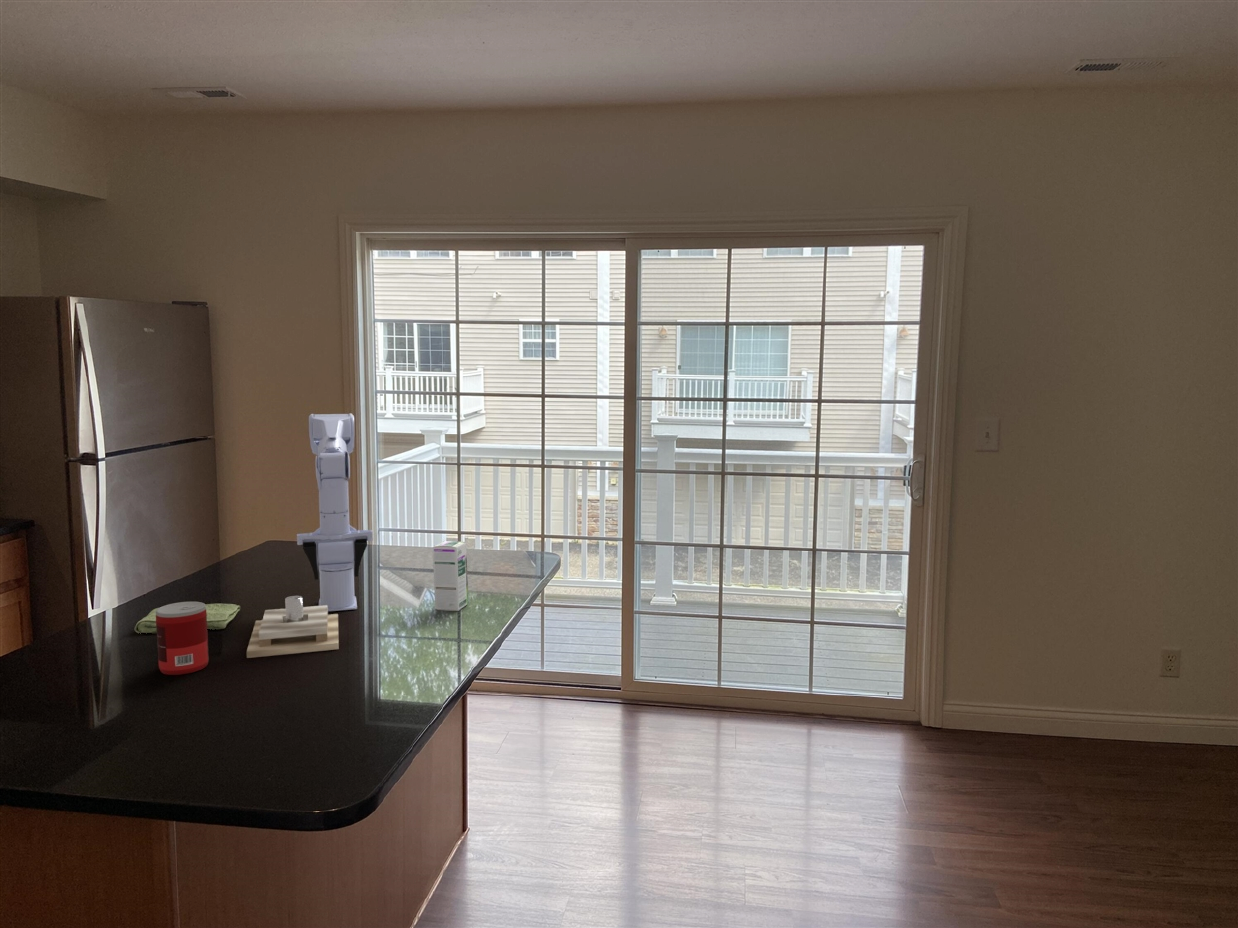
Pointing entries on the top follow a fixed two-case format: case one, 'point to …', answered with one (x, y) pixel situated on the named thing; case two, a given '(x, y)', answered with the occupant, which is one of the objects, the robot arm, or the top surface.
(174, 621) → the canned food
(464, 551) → the syrup box
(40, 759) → the top surface
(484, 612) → the top surface
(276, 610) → the collar stand
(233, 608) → the washcloth
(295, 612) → the tube
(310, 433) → the robot arm
